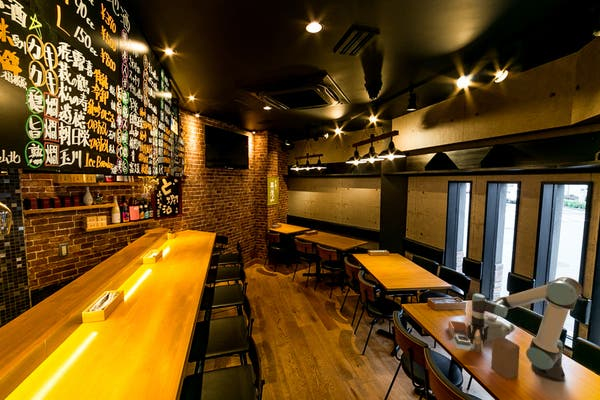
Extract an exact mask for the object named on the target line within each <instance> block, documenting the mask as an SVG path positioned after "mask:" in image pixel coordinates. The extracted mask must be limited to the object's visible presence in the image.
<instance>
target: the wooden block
mask: <svg viewBox="0 0 600 400" xmlns="http://www.w3.org/2000/svg"><path fill="white" fill-rule="evenodd" d="M491 344H492V345H491V364H490V365H491V367H490V368H491V369H492V371H493V372H495V373H497V374H498V375H499V376H501V377H502V378H504V379H505V380H510V379H513V378H517V377H518V376H519V368H520V367H519V365H520V364H519V363H520V348H521V347H520V345H518V344H517V343H515V342H513V341H511V340H509V339H508V338H506V337H505V338H504V337H502V338H497V339H493V340H492V342H491Z"/></svg>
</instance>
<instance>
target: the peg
mask: <svg viewBox="0 0 600 400" xmlns="http://www.w3.org/2000/svg"><path fill="white" fill-rule="evenodd" d="M474 340H475V347H474V350H477V351H480V341H481V336H480V334H479V333H475V336H474ZM477 351H476V352H477Z"/></svg>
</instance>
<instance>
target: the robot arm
mask: <svg viewBox="0 0 600 400" xmlns="http://www.w3.org/2000/svg"><path fill="white" fill-rule="evenodd" d="M582 293H583V287H582V285H581V284H580V283H579V281H578V280H575V279H574V278H571V277H567V276H561V277H558V278H556V279H553V280H552V281H548V282H547V283H546V284H544V285H541V286H537V287H534V288H530V289H527V290H524V291H521V292H517V293H514V294H509V295H506V296H502V297H499V298H498V299H496V300H495V301H491V300H489V299H486V296H485V295H483V294H481V293H473V294H472V298H471V299H472V300H471V319H470V320H471V322H470V323H466V324H467V327H468V329H467V337H468V338H469V339H470V343H471V347H472V348H473V349H474V347H475V340H474V336H475V334H477V333H476V332H477V331H478V332H479V333H478V334H479V335H480V336H481V341H480V349H481V351H482V350H483V345H485V342H486V340H487V334H488V328H489V327H488V326H487V325H485V324H484V320H485V319H484V318H486V313H490V314H492V315H495V316H496V317H500V318H506V317H507V315H508V310H510V309H514V308H517V307H522V306H525V305H529V304H534V303H537V302H543V301H546V302H547V304H546V306H545V311H544V314H543V316H542V319H541V323H540V325H539V329H538V332H537V334H536V337H535V336H534V337H531V341H530V344H529V347H528V348H527V349H526V352H525V356H526V358H527V359H528V361H529V362H530V363H531V364H530V367H531V369H532V371H533V372H534V373H535V374H538V375H539V376H540V377H543V378H545V379H546V380H548V381H549V380H550V381H554V382H561V383H562V382H564V381H565V380H566V374H565V372H564V368H563V364H562V362H563V347H564V343H563V342H562V340H561V339H560V337H561V334H562V331H563V328H564V325H565V322H566V320H567V317H568V313H569V311H571V310H572V311H573V310H574V309H575V306H576V304H577V301H578V298H580V296H581V295H582ZM485 312H486V313H485ZM483 327H484V333H483V329H482V328H483Z"/></svg>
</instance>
